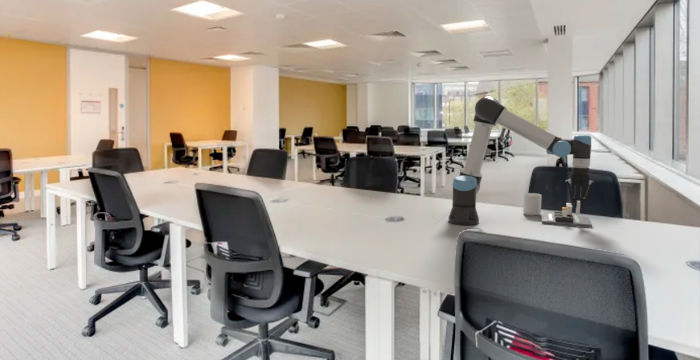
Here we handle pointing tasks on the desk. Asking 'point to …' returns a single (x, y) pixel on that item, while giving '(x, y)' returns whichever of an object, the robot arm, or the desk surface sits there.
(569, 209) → the block
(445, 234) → the desk surface
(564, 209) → the block
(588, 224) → the panel
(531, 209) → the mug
